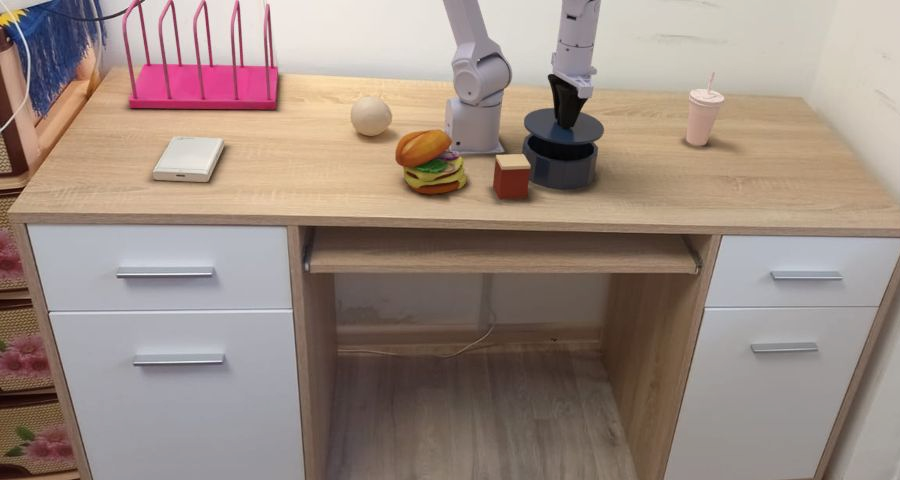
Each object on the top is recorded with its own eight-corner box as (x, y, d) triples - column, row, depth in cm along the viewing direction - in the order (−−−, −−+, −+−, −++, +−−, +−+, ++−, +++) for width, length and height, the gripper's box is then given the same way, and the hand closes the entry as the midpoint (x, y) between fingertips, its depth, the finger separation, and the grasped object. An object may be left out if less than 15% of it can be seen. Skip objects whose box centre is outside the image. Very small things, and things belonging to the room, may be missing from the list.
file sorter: (145, 72, 161) (132, -10, 152) (278, 74, 166) (273, -5, 157) (129, 109, 147) (114, 21, 138) (275, 110, 152) (270, 25, 143)
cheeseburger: (459, 203, 129) (447, 144, 124) (395, 205, 132) (381, 148, 127) (474, 173, 138) (463, 117, 132) (413, 176, 140) (400, 122, 135)
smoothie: (716, 141, 158) (734, 71, 151) (708, 154, 153) (726, 82, 146) (683, 133, 160) (699, 63, 152) (674, 145, 155) (691, 73, 148)
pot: (532, 194, 134) (536, 163, 131) (511, 159, 144) (515, 130, 141) (603, 190, 138) (608, 161, 134) (578, 157, 147) (583, 128, 144)
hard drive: (172, 135, 137) (151, 170, 126) (224, 138, 137) (207, 172, 127) (174, 144, 137) (153, 180, 127) (224, 147, 138) (208, 182, 128)
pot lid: (536, 149, 129) (539, 122, 127) (514, 114, 140) (516, 89, 137) (615, 146, 133) (619, 120, 130) (587, 113, 143) (591, 88, 141)
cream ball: (394, 141, 146) (395, 105, 142) (352, 142, 144) (352, 106, 140) (389, 125, 151) (390, 90, 147) (348, 126, 149) (348, 90, 146)
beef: (498, 201, 131) (502, 166, 128) (492, 189, 135) (495, 154, 131) (526, 200, 133) (530, 165, 129) (519, 188, 136) (523, 153, 132)
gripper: (617, 57, 123) (602, 141, 131) (584, 26, 135) (573, 104, 142) (572, 58, 121) (560, 142, 129) (543, 25, 133) (533, 105, 140)
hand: (564, 122), depth 136 cm, fingers closed on pot lid, 2 cm apart
